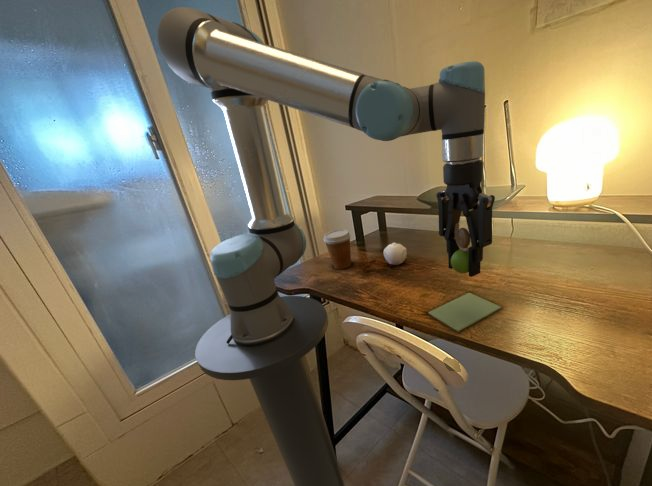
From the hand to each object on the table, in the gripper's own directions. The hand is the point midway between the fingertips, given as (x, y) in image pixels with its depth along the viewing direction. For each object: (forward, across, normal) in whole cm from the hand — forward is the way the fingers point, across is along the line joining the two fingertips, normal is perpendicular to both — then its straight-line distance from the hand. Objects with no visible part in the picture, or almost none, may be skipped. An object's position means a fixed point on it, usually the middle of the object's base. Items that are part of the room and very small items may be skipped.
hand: (464, 270), depth 68 cm
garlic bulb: (+11, +36, -5) cm, 38 cm away
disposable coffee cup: (+11, +50, +9) cm, 52 cm away
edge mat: (+11, 0, 0) cm, 11 cm away
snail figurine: (+1, 0, 0) cm, 1 cm away
